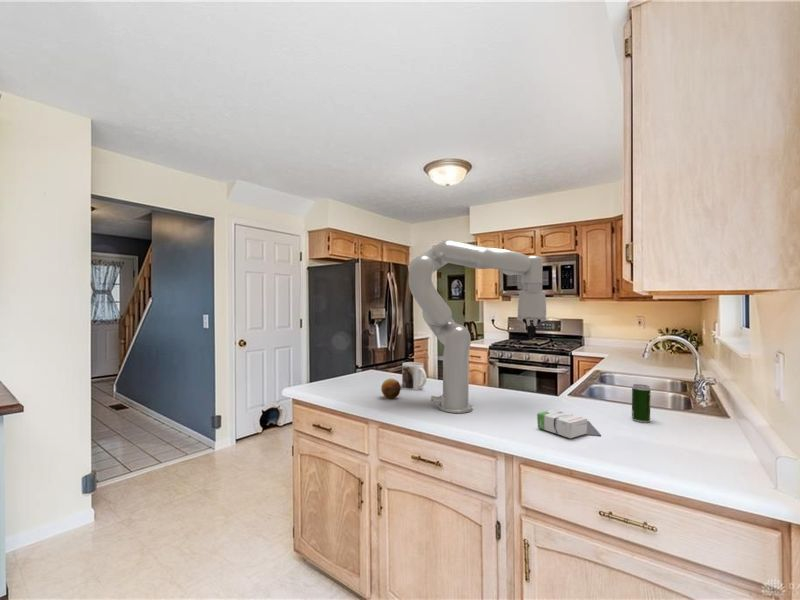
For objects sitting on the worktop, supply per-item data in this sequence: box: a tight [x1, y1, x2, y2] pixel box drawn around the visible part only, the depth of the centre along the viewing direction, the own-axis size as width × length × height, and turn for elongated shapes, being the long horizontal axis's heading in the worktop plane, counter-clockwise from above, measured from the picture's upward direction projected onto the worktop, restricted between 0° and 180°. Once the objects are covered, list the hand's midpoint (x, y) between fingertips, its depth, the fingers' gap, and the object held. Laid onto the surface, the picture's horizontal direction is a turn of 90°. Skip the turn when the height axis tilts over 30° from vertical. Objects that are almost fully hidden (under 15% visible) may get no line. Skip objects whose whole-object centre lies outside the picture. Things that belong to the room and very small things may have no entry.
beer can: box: [631, 383, 652, 424], centre depth 132 cm, size 5×5×12 cm
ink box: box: [536, 409, 588, 439], centre depth 120 cm, size 9×5×12 cm
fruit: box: [380, 378, 402, 400], centre depth 159 cm, size 8×8×8 cm
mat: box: [583, 420, 602, 437], centre depth 125 cm, size 13×14×1 cm
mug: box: [401, 361, 427, 391], centre depth 177 cm, size 10×12×11 cm
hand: (531, 336), depth 148 cm, fingers closed
